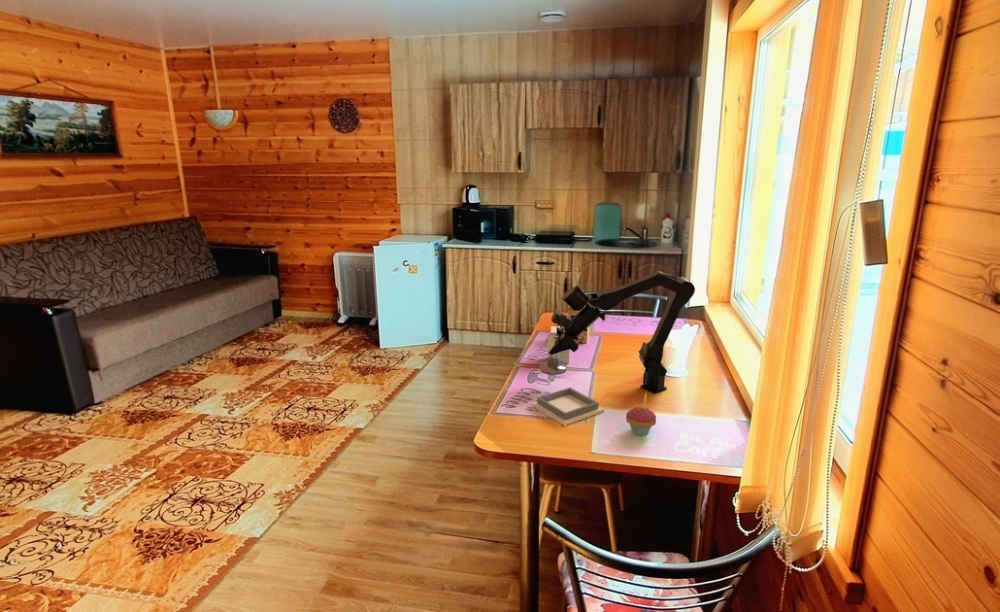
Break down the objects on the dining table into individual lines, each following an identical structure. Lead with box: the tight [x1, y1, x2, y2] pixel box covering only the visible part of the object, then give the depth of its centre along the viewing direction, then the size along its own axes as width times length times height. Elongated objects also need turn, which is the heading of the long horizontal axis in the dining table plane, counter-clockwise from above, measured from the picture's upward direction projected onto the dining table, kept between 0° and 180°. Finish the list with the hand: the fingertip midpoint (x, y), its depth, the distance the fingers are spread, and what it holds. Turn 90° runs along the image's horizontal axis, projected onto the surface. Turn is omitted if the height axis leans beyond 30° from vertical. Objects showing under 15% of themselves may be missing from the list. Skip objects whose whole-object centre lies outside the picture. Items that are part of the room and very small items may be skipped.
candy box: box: [567, 305, 590, 344], centre depth 231 cm, size 9×4×15 cm, turn 70°
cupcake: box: [625, 391, 657, 436], centre depth 158 cm, size 9×8×12 cm
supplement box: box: [549, 325, 570, 364], centre depth 211 cm, size 7×7×13 cm
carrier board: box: [531, 387, 605, 427], centre depth 173 cm, size 16×16×3 cm
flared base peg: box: [539, 334, 567, 376], centre depth 185 cm, size 9×9×12 cm
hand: (549, 351), depth 185 cm, fingers closed on flared base peg, 4 cm apart
